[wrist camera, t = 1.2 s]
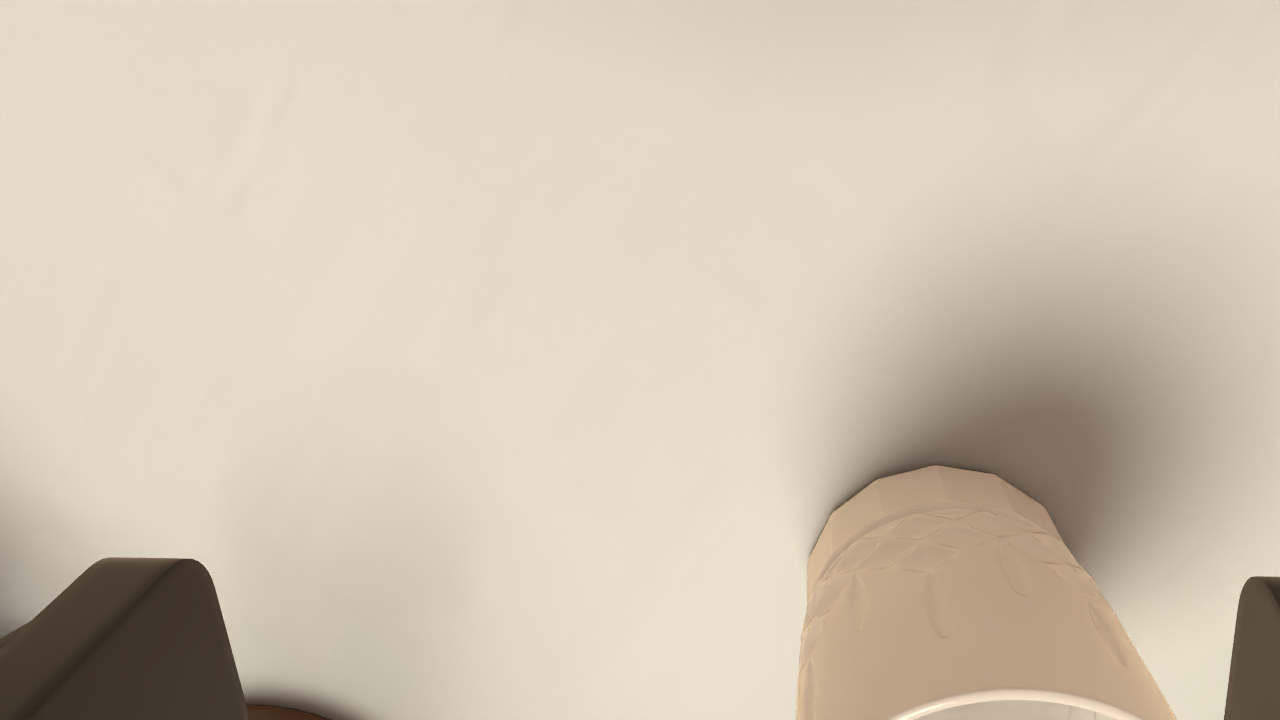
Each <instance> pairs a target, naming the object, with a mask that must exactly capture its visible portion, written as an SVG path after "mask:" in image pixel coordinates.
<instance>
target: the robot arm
mask: <svg viewBox="0 0 1280 720" xmlns="http://www.w3.org/2000/svg"><path fill="white" fill-rule="evenodd" d="M0 720H248V711H247V706H246V702H245V698H244V695H243V691H242V687H241V684H240V680H239V676H238V672H237V669H236V665H235V661H234V657H233V654H232V650H231V646H230V642H229V639H228V635H227V631H226V627H225V624H224V620H223V616H222V613H221V609H220V605H219V601H218V598H217V594H216V590H215V587H214V584H213V581H212V578H211V576H210V574H209V572H208V571H207V569H206V568H205V567H204V566H203V565H202V564H201V563H200V562H198V561H196V560H194V559H176V558H105V559H102V560H100V561H98V562H96V563H94V564H93V565H92V566H90V567H89V568H88V569H87V570H86V571H85V572H84V573H83V574H82V575H81V576H79V577H78V578H77V579H76V580H75V581H74V582H73V583H72V584H71V585H70V586H69V587H68V588H66V589H65V590H64V591H63V592H62V593H61V594H60V595H59V596H58V597H57V598H56V599H55V600H53V601H52V602H51V603H50V604H49V605H48V606H47V607H46V608H45V609H44V610H43V611H42V612H40V613H39V614H38V615H37V616H36V617H35V618H34V619H33V620H32V621H30V622H29V623H27V624H25V625H24V626H22V627H20V628H18V629H17V630H15V631H13V632H12V633H10V634H8V635H6V636H5V637H3V638H1V639H0ZM1224 720H1280V577H1251V578H1249V579H1248V580H1247V582H1246V583H1245V584H1244V587H1243V589H1242V592H1241V595H1240V599H1239V605H1238V611H1237V619H1236V627H1235V635H1234V643H1233V651H1232V659H1231V667H1230V675H1229V683H1228V691H1227V699H1226V707H1225V715H1224Z"/></svg>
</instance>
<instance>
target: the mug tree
mask: <svg viewBox="0 0 1280 720" xmlns="http://www.w3.org/2000/svg"><path fill="white" fill-rule="evenodd" d="M246 706H247V711H248V720H327V719H325V718H322V717H319V716H316V715H313V714H309V713H305V712H301V711H297V710H293V709H288V708H280V707H273V706H261V705H246Z"/></svg>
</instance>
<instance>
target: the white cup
mask: <svg viewBox="0 0 1280 720" xmlns="http://www.w3.org/2000/svg"><path fill="white" fill-rule="evenodd" d="M796 720H1177V718H1176V717H1175V715H1174V713H1173V711H1172V710H1171V708H1170V706H1169V705H1168V703H1167V701H1166V699H1165V698H1164V696H1163V694H1162V693H1161V691H1160V689H1159V687H1158V686H1157V684H1156V682H1155V681H1154V679H1153V677H1152V676H1151V674H1150V672H1149V671H1148V669H1147V667H1146V666H1145V664H1144V662H1143V661H1142V659H1141V657H1140V656H1139V654H1138V652H1137V650H1136V649H1135V647H1134V645H1133V644H1132V642H1131V640H1130V638H1129V637H1128V635H1127V633H1126V632H1125V630H1124V628H1123V626H1122V625H1121V623H1120V621H1119V620H1118V618H1117V615H1116V614H1115V613H1114V611H1113V610H1112V608H1111V607H1110V605H1109V604H1108V602H1107V601H1106V599H1105V598H1104V596H1103V595H1102V593H1101V592H1100V590H1099V589H1098V588H1097V586H1096V584H1095V582H1094V580H1093V578H1092V577H1091V576H1090V575H1089V574H1088V573H1087V572H1086V571H1085V570H1084V569H1083V568H1082V567H1081V566H1080V564H1079V563H1078V562H1077V561H1076V560H1075V558H1074V557H1073V555H1072V554H1071V552H1070V551H1069V549H1068V548H1067V547H1066V545H1065V543H1064V541H1063V540H1062V538H1061V536H1060V534H1059V532H1058V531H1057V529H1056V527H1055V525H1054V523H1053V521H1052V520H1051V518H1050V516H1049V514H1048V512H1047V511H1046V509H1045V508H1044V507H1043V506H1042V505H1041V504H1039V503H1038V502H1036V501H1035V500H1033V499H1032V498H1030V497H1029V496H1027V495H1026V494H1024V493H1023V492H1021V491H1020V490H1018V489H1017V488H1015V487H1014V486H1012V485H1010V484H1009V483H1007V482H1006V481H1004V480H1003V479H1001V478H1000V477H998V476H997V475H995V474H989V473H983V472H976V471H970V470H964V469H957V468H951V467H945V466H938V465H933V466H929V467H925V468H921V469H917V470H913V471H909V472H904V473H900V474H896V475H892V476H888V477H884V478H880V479H877V480H875V481H874V482H872V483H871V484H870V485H868V486H867V487H866V488H864V489H863V490H862V491H860V492H859V493H858V494H857V495H855V496H854V497H853V498H851V499H850V500H849V501H847V502H846V503H845V504H843V505H842V506H841V507H839V508H838V509H837V510H836V511H834V512H833V513H832V514H831V515H830V517H829V519H828V521H827V523H826V525H825V527H824V529H823V531H822V533H821V535H820V537H819V539H818V541H817V543H816V545H815V547H814V549H813V551H812V553H811V556H810V558H809V560H808V564H807V610H806V616H805V620H804V625H803V630H802V635H801V647H800V659H799V675H798V681H797V703H796Z"/></svg>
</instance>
